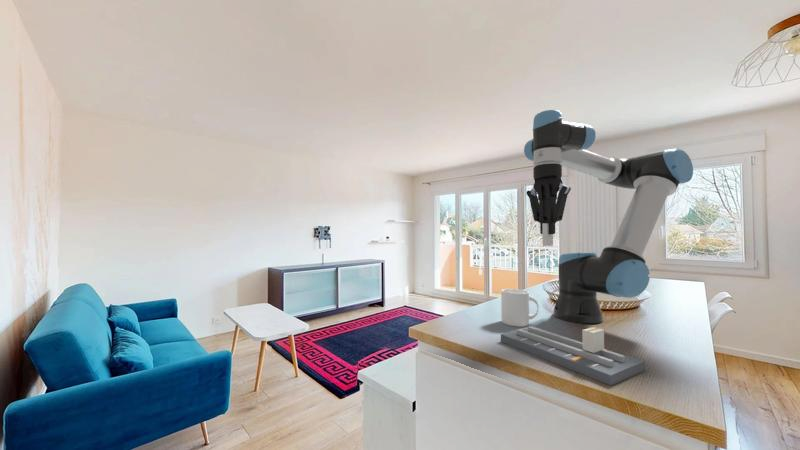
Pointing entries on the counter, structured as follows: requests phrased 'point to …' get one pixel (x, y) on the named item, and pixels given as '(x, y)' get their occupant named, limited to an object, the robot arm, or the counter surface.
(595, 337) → the fader
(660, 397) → the counter surface
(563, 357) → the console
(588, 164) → the robot arm
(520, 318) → the mug
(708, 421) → the counter surface
